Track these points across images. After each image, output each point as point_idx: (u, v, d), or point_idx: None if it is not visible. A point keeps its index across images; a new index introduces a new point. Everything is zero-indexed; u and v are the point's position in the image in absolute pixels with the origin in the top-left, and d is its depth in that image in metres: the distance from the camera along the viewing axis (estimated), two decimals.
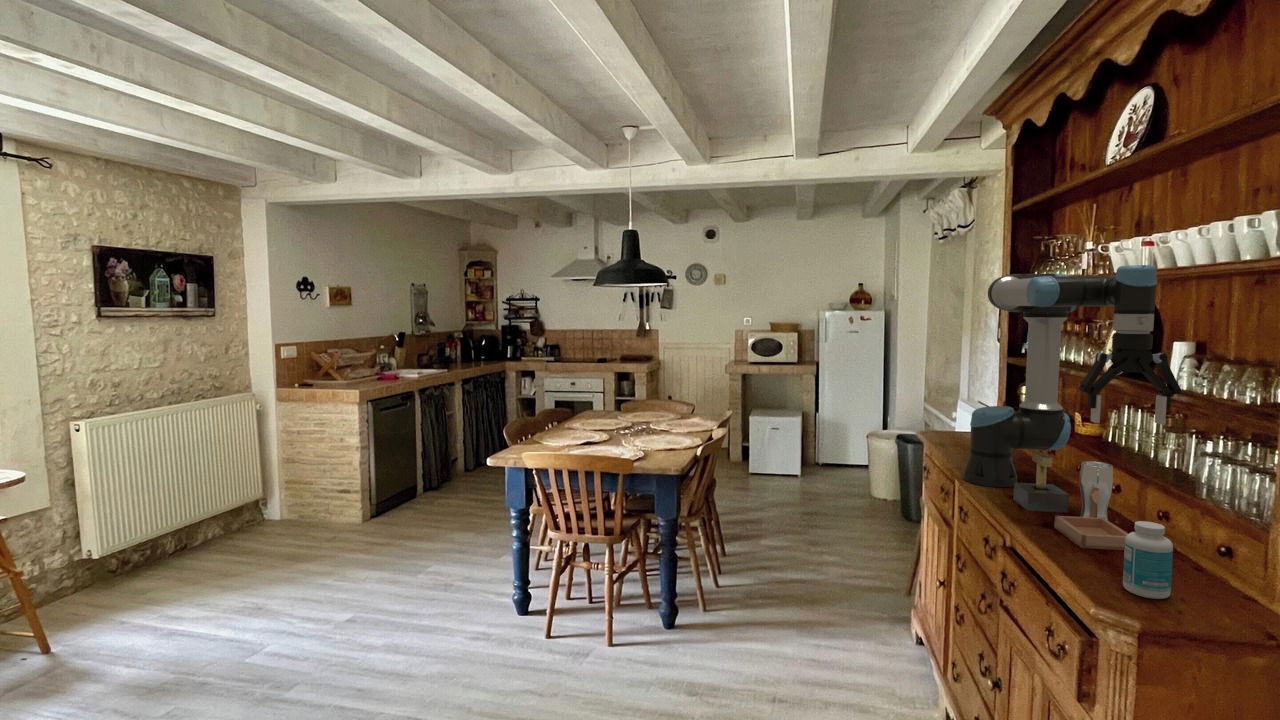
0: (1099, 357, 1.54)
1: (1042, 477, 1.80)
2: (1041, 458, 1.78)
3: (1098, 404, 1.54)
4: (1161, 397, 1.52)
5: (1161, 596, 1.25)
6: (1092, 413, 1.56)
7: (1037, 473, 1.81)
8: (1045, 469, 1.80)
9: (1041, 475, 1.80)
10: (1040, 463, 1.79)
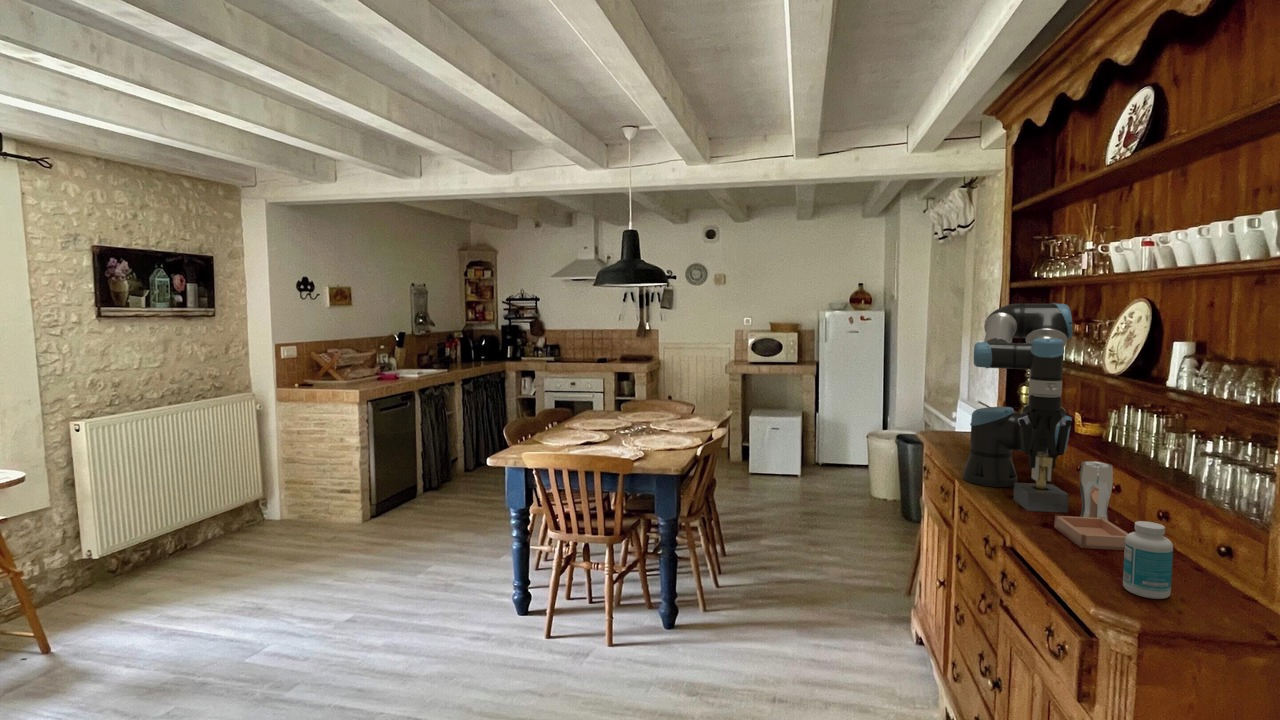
0: (1020, 423, 1.80)
1: (1042, 477, 1.80)
2: (1041, 458, 1.78)
3: (1037, 464, 1.80)
4: None
5: (1161, 596, 1.25)
6: (1032, 471, 1.82)
7: None
8: (1045, 469, 1.80)
9: (1041, 475, 1.80)
10: (1040, 463, 1.79)
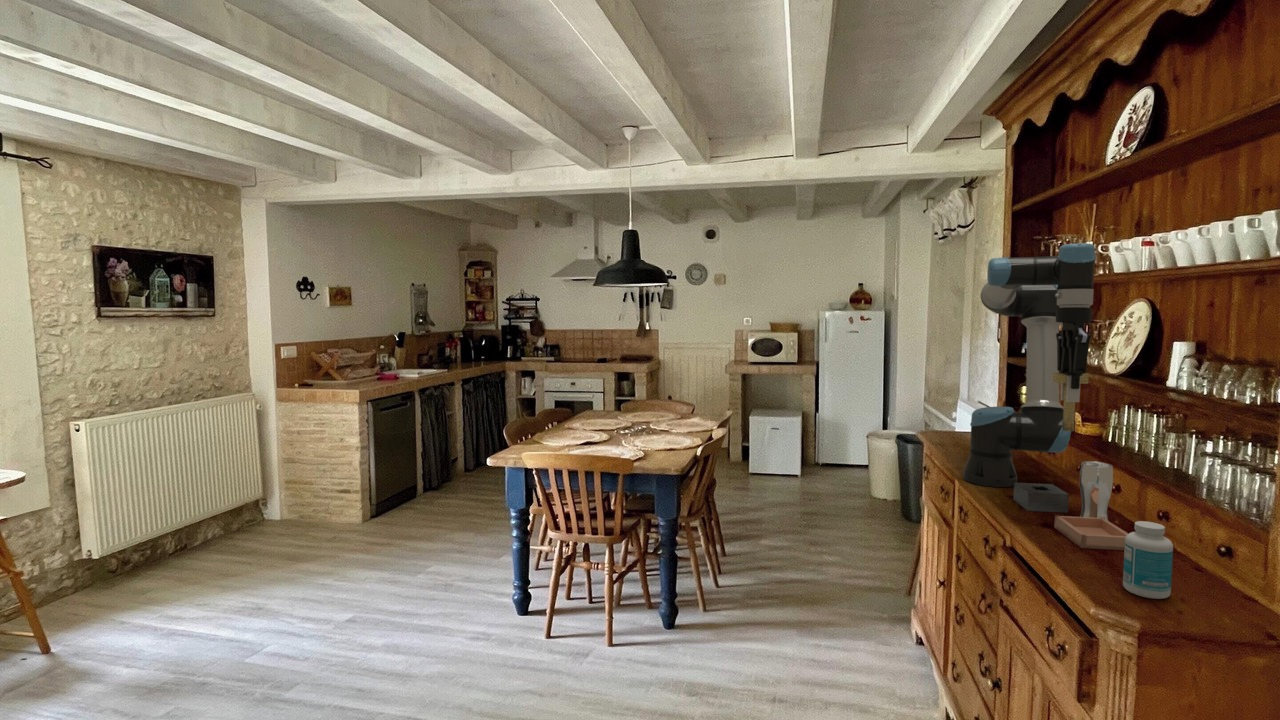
0: None
1: (1064, 397, 1.65)
2: None
3: None
4: None
5: (1161, 596, 1.25)
6: None
7: None
8: (1066, 388, 1.64)
9: (1064, 394, 1.65)
10: None
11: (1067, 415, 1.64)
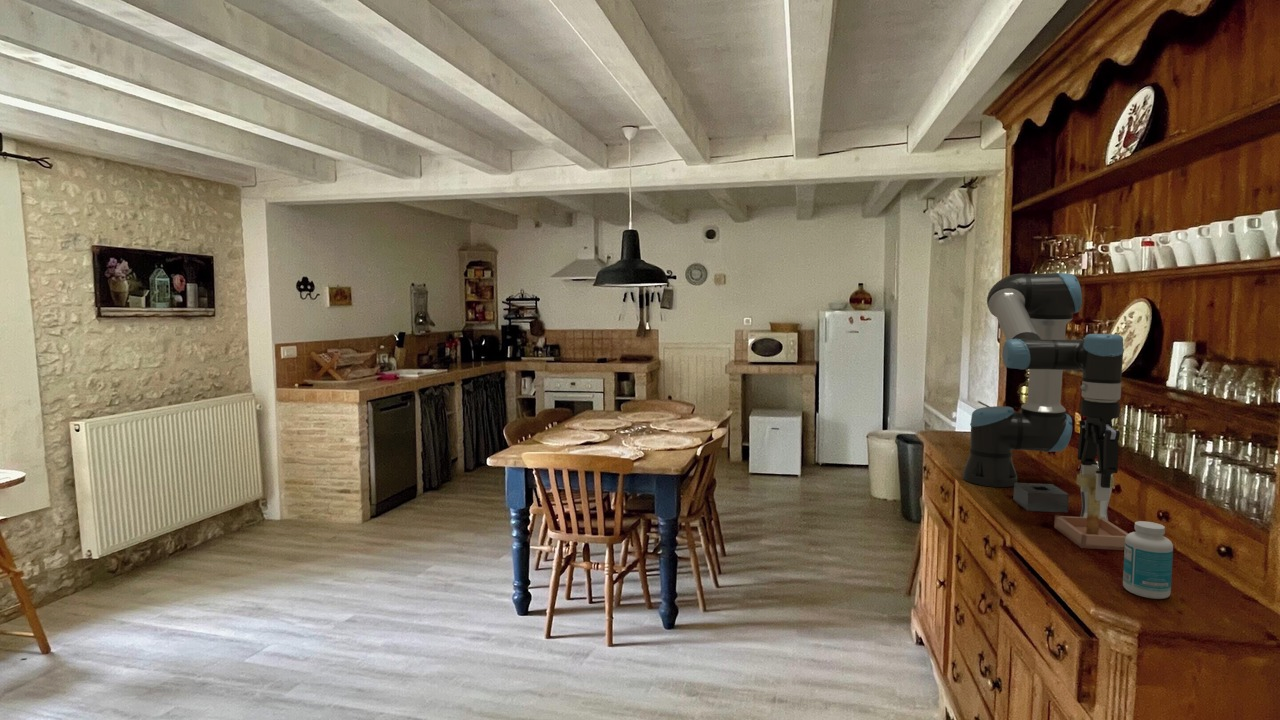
0: None
1: (1088, 500, 1.57)
2: None
3: (1082, 473, 1.59)
4: None
5: (1161, 596, 1.25)
6: None
7: None
8: (1091, 492, 1.56)
9: (1088, 498, 1.57)
10: None
11: (1091, 520, 1.56)
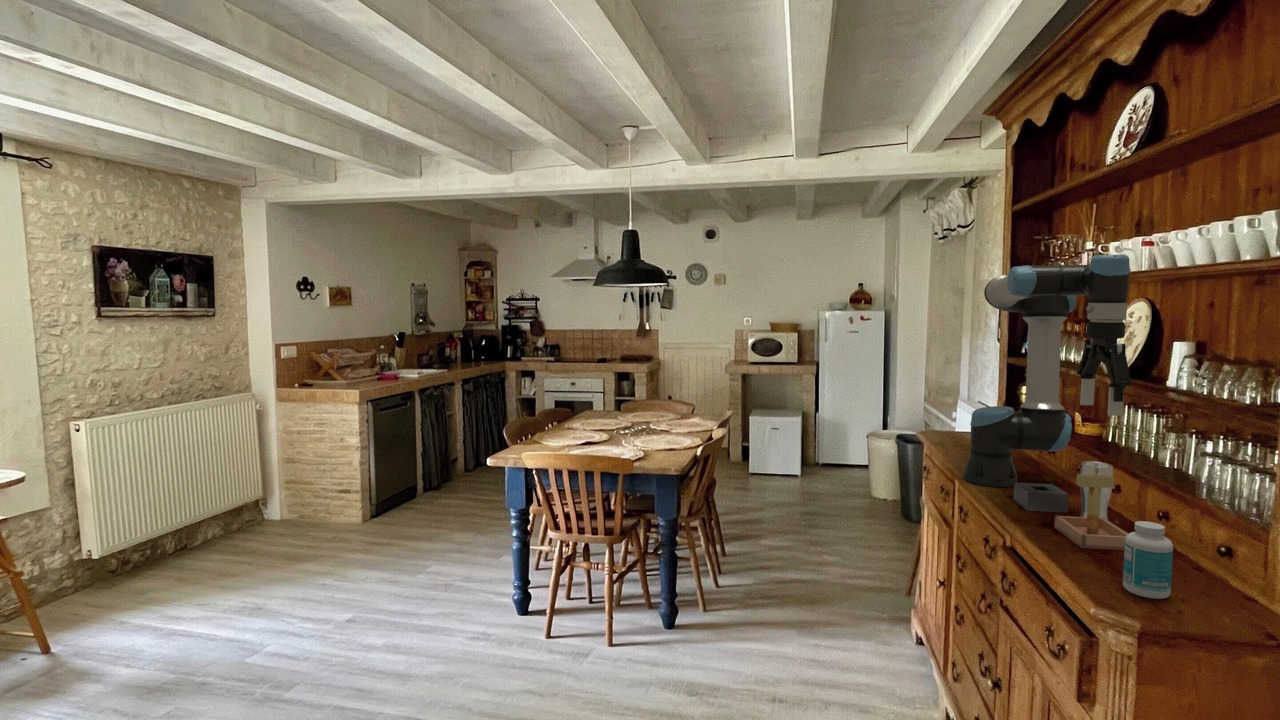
0: None
1: (1088, 500, 1.57)
2: None
3: (1081, 387, 1.64)
4: None
5: (1161, 596, 1.25)
6: None
7: None
8: (1091, 492, 1.56)
9: (1088, 498, 1.57)
10: None
11: (1091, 520, 1.56)
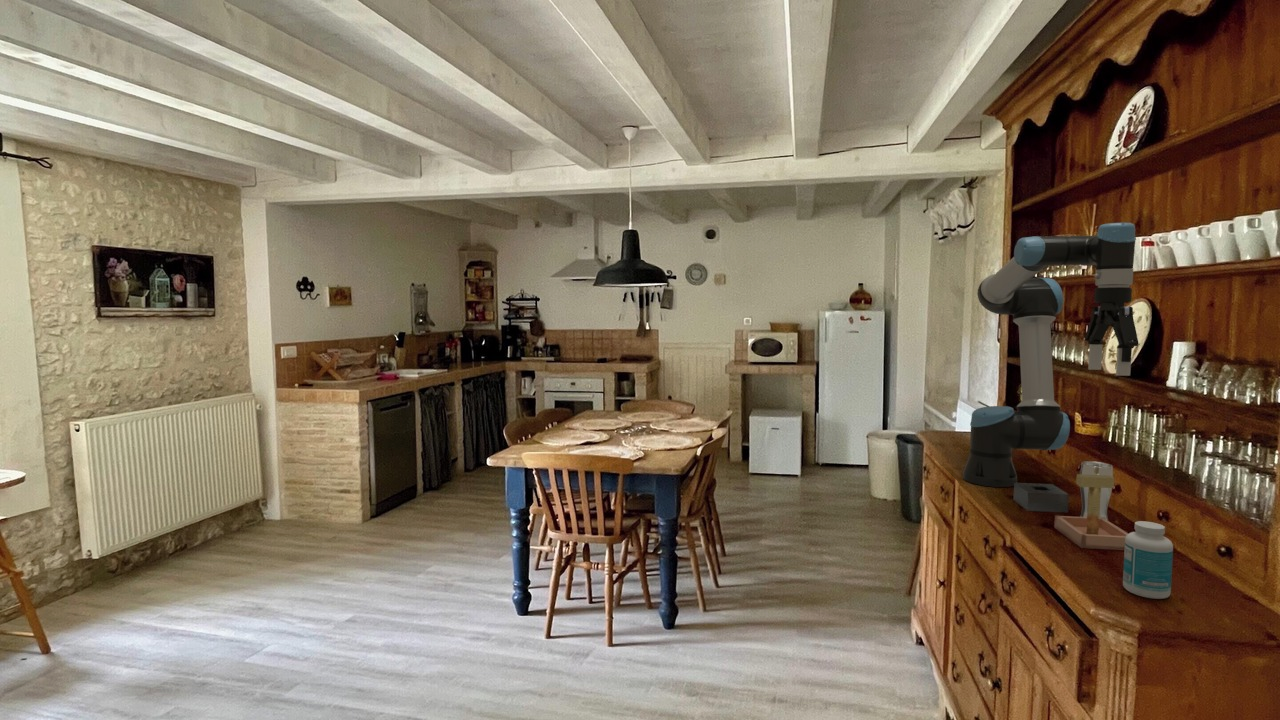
0: None
1: (1088, 500, 1.57)
2: None
3: (1089, 352, 1.71)
4: None
5: (1161, 596, 1.25)
6: None
7: None
8: (1091, 492, 1.56)
9: (1088, 498, 1.57)
10: None
11: (1091, 520, 1.56)
